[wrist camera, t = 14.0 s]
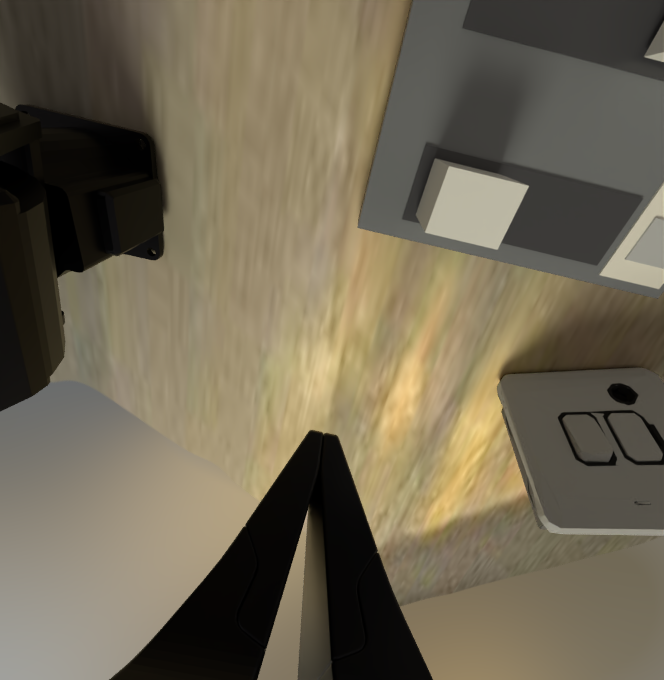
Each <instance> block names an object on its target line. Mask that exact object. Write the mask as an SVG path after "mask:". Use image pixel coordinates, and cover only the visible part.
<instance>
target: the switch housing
mask: <svg viewBox="0 0 664 680" xmlns="http://www.w3.org/2000/svg"><path fill="white" fill-rule="evenodd" d="M663 22H664V0H412V2H411V6H410V10H409V14H408V18H407V22H406V26H405V30H404V35H403V39H402V43H401V47H400V51H399V55H398V59H397V63H396V67H395V72H394V76H393V80H392V84H391V88H390V92H389V96H388V100H387V104H386V108H385V113H384V117H383V121H382V125H381V129H380V133H379V137H378V141H377V145H376V150H375V154H374V158H373V162H372V166H371V170H370V174H369V178H368V182H367V186H366V191H365V195H364V199H363V203H362V207H361V211H360V215H359V219H358V228H360V229H365V230H369V231H373V232H377V233H382V234H386V235H390V236H394V237H399V238H403V239H407V240H411V241H415V242H420V243H424V244H428V245H432V246H437V247H441V248H445V249H449V250H454V251H458V252H462V253H466V254H470V255H475V256H479V257H483V258H487V259H492V260H496V261H500V262H504V263H509V264H513V265H517V266H521V267H526V268H530V269H534V270H538V271H542V272H547V273H551V274H555V275H559V276H564V277H568V278H572V279H576V280H581V281H585V282H589V283H593V284H598V285H602V286H606V287H610V288H614V289H619V290H623V291H627V292H631V293H636V294H640V295H644V296H648V297H653V298H657V299H658V298H659V296H660V295H661V294H662V293H663V292H664V62H661V61H657V60H654V59H650V58H646V57H644V55H645V54H646V52H647V50H648V48H649V47H650V45H651V43H652V41H653V39H654V38H655V36H656V34H657V32H658V31H659V29H660V27H661V25H662V23H663ZM435 158H436V159H440V160H444V161H448V162H452V163H456V164H460V165H464V166H468V167H472V168H476V169H480V170H484V171H488V172H492V173H497V174H501V175H503V176H506V177H508V178H511V179H513V180H516V181H518V182H521V183H523V184H526V185H528V186H529V187H528V189H527V191H526V193H525V195H524V197H523V199H522V201H521V203H520V205H519V207H518V209H517V211H516V213H515V215H514V218H513V220H512V222H511V224H510V226H509V228H508V230H507V232H506V234H505V236H504V238H503V240H502V242H501V244H500V246H499V248H498V250H496V249H492V248H488V247H483V246H479V245H475V244H471V243H466V242H462V241H458V240H454V239H450V238H445V237H441V236H437V235H433V234H429V233H425V232H424V230H423V228H422V226H421V224H420V222H419V220H418V218H417V216H416V213H417V210H418V207H419V204H420V201H421V198H422V195H423V192H424V189H425V186H426V183H427V180H428V177H429V174H430V171H431V168H432V165H433V162H434V159H435Z"/></svg>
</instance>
